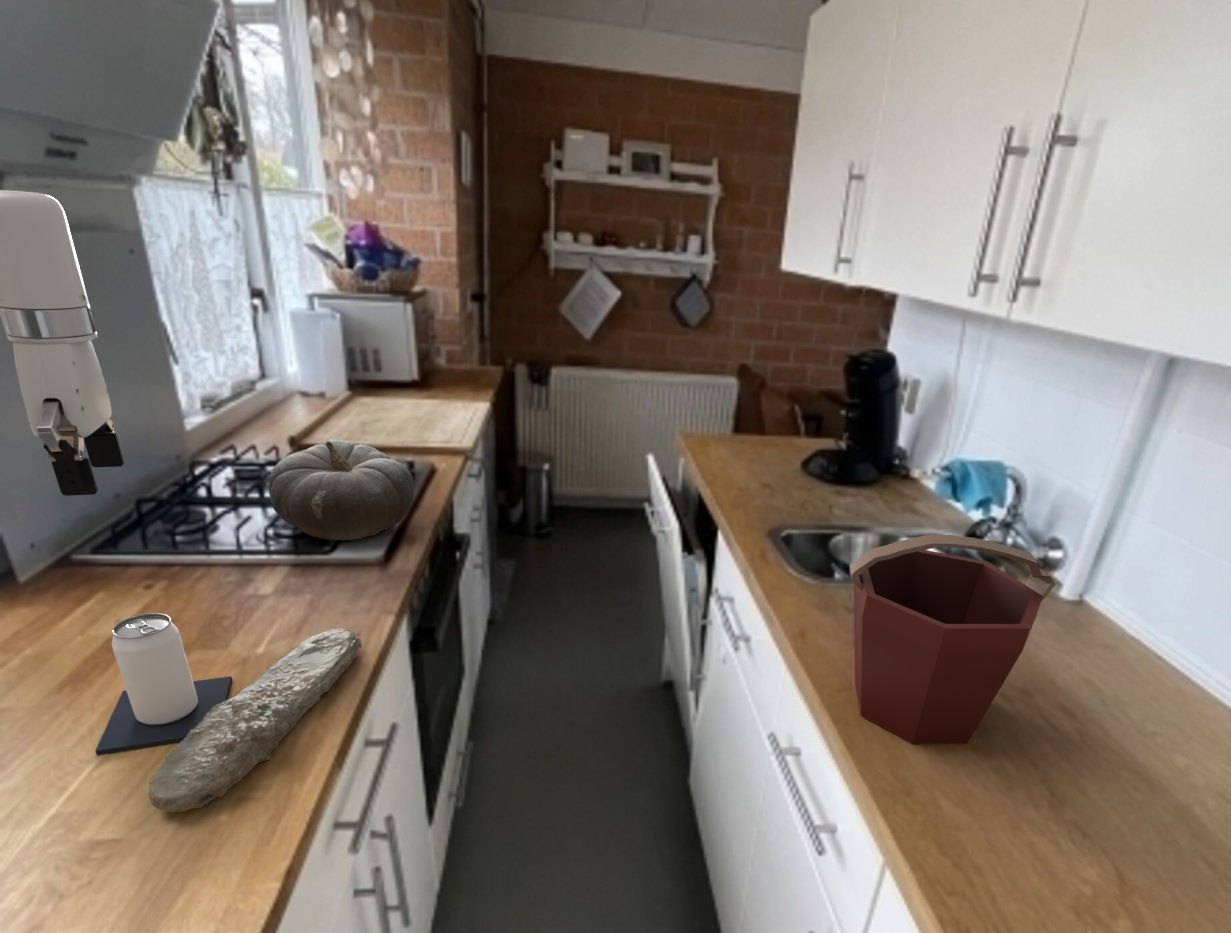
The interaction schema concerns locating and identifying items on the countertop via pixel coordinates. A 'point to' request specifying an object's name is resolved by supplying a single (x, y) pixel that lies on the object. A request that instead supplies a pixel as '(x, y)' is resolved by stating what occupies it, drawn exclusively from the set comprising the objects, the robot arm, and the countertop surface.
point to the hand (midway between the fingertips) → (95, 479)
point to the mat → (135, 734)
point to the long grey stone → (250, 723)
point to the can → (154, 668)
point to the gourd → (341, 490)
